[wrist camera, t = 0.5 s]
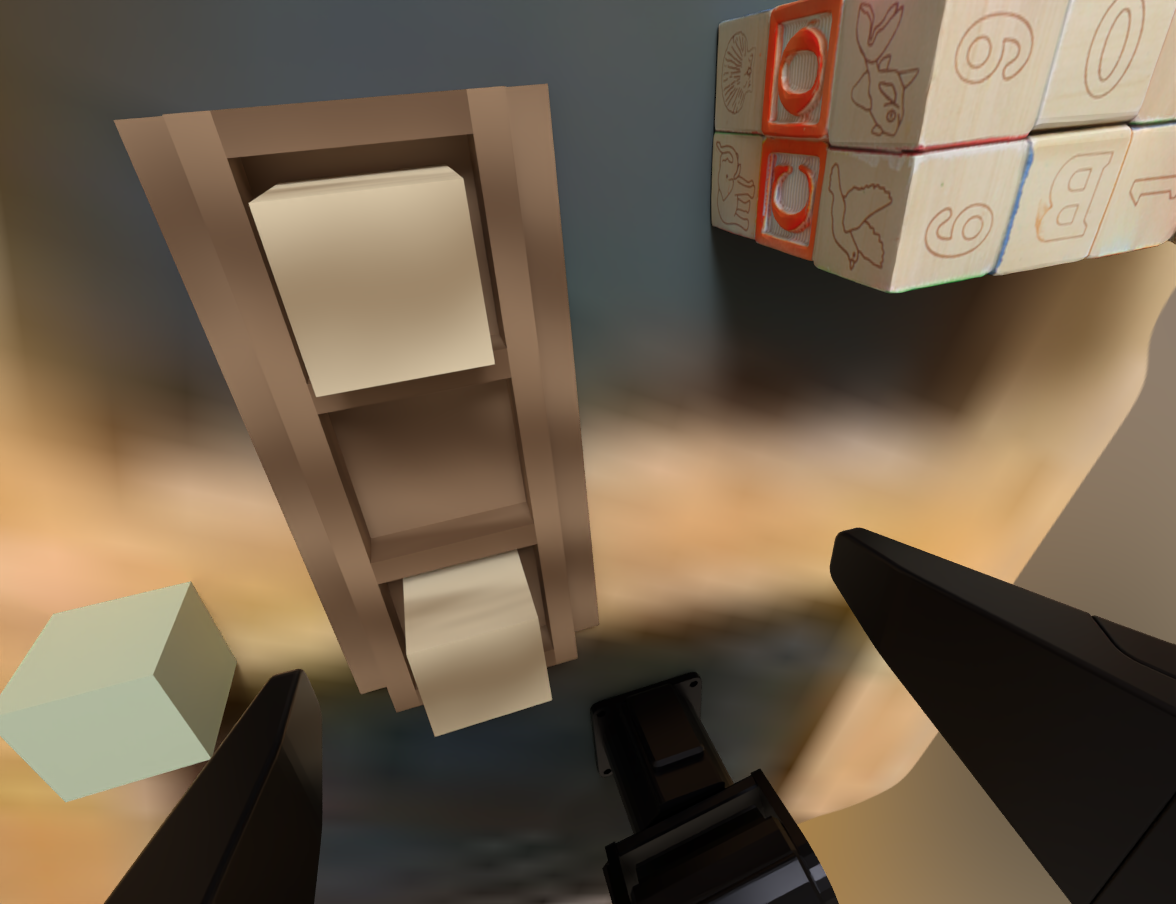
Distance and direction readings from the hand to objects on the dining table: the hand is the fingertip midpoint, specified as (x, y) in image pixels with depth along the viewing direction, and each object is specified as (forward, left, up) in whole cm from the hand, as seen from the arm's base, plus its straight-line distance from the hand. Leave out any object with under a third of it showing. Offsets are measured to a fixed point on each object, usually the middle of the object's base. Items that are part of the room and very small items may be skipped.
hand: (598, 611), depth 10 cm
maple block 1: (+4, +2, -13) cm, 13 cm away
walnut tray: (-3, +2, -14) cm, 14 cm away
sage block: (-9, +14, -14) cm, 22 cm away
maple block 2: (-10, +2, -13) cm, 16 cm away
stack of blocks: (+6, -19, -14) cm, 25 cm away
